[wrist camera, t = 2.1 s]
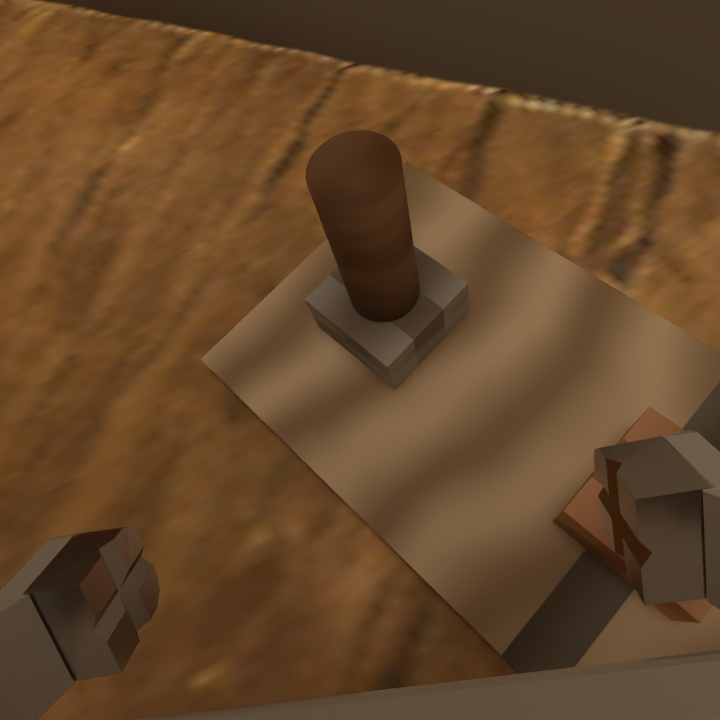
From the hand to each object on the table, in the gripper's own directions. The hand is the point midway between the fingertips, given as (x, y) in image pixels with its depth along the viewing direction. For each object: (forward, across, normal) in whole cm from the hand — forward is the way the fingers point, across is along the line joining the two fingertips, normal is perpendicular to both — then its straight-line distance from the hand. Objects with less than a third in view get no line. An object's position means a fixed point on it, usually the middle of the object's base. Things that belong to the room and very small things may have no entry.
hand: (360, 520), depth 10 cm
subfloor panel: (+19, -5, +8) cm, 22 cm away
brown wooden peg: (+22, 0, +2) cm, 22 cm away
